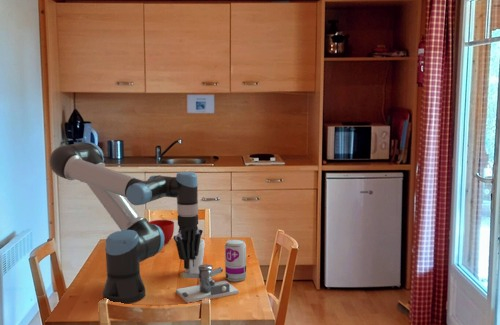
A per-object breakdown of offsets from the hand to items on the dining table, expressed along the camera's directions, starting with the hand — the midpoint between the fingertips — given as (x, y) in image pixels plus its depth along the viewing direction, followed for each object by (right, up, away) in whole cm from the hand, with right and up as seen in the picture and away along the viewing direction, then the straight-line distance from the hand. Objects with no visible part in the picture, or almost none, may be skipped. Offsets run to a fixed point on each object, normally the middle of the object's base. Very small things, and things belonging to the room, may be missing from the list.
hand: (189, 276), depth 210 cm
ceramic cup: (-21, +3, +62) cm, 65 cm away
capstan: (+4, -5, -2) cm, 7 cm away
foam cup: (-1, -3, +22) cm, 22 cm away
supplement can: (+17, -4, +14) cm, 22 cm away
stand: (+7, -6, -1) cm, 9 cm away
